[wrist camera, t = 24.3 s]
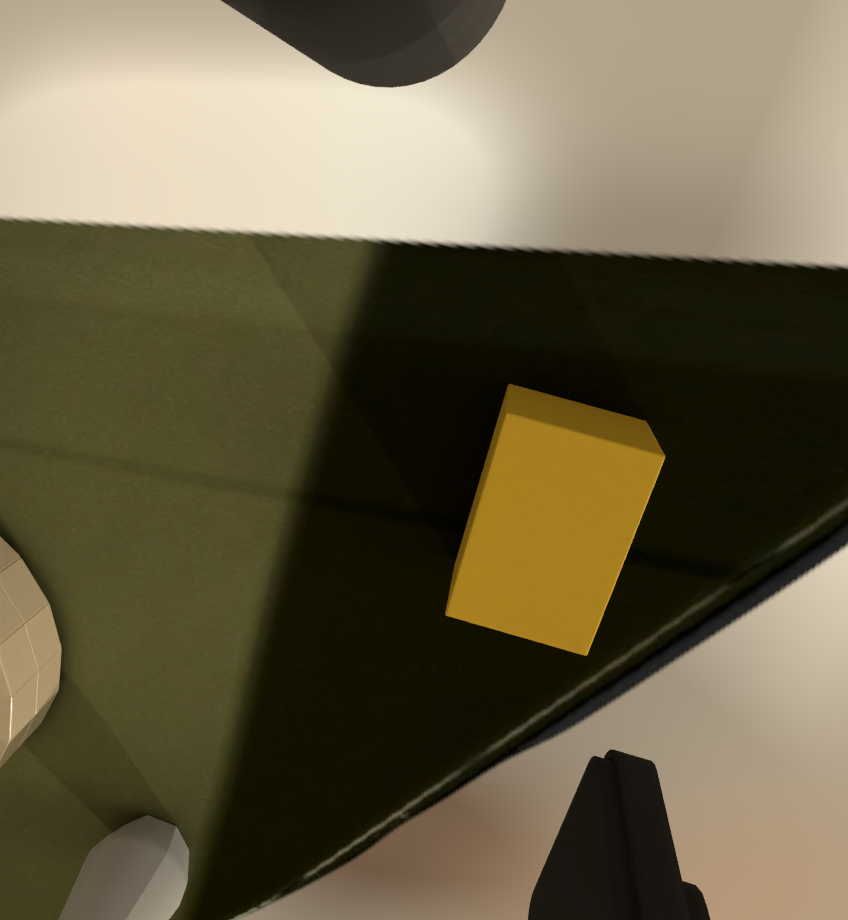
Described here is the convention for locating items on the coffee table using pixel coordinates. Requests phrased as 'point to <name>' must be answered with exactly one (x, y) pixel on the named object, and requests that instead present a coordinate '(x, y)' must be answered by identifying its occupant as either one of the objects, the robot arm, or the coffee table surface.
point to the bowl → (24, 653)
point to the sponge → (552, 518)
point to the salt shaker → (132, 875)
